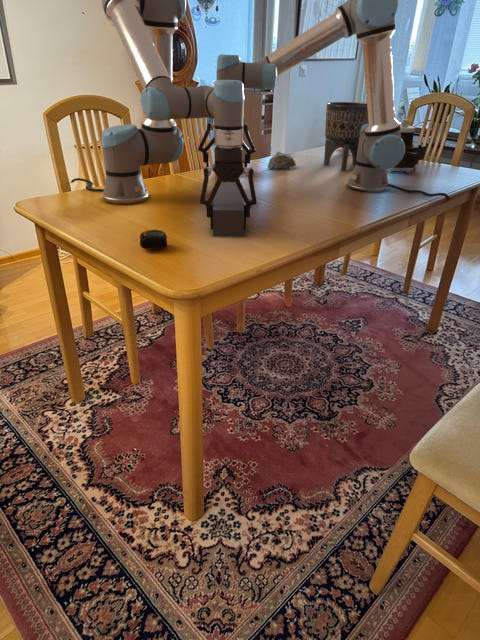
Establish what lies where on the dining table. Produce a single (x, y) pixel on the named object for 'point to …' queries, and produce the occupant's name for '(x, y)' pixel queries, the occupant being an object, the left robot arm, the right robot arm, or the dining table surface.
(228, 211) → the long gray bar
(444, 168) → the dining table surface
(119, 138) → the left robot arm
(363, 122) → the planter
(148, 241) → the tape measure
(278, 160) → the rock
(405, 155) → the mechanical component
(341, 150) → the figurine
